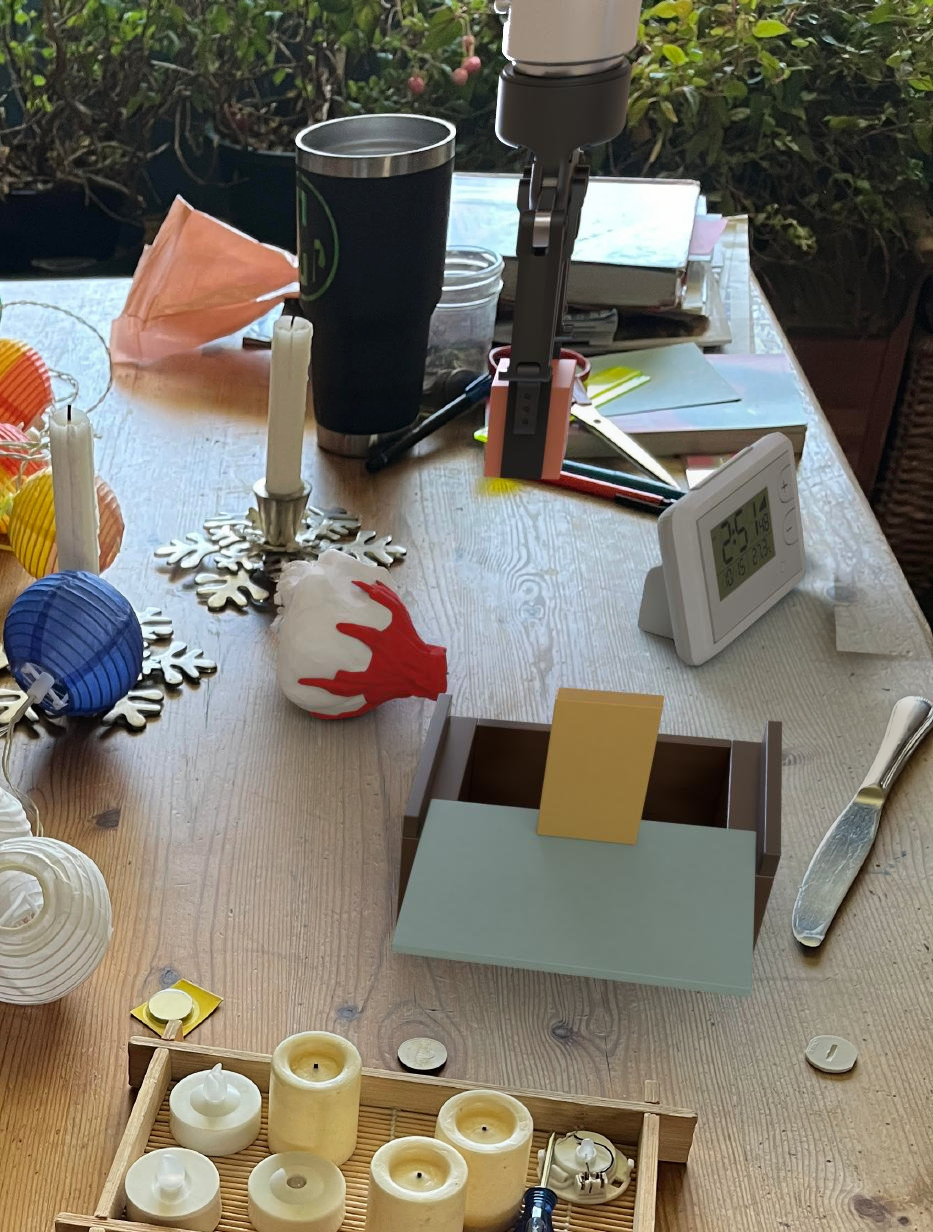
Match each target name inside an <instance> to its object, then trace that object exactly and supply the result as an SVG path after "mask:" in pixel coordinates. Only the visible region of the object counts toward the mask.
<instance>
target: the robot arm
mask: <svg viewBox="0 0 933 1232" xmlns="http://www.w3.org/2000/svg"><path fill="white" fill-rule="evenodd" d="M642 4H643V0H494V10H495V11H496V13H499V14H508V17H507V18H506V20H505V21H504V23H503V25H504V26H503V38H502V53H503V55H504V56H505V57H506V59H508V60H509V61H510V62H508V63H506V64H505V66H504V67H503V69H502V70H501V71H500V73H499V78H498V91H497V105H496V116H495V117H496V118H495V134H496V137H497V138H498V139H499V141H501V143H503V144H505V145H507V146H510V147H512V148H515V149H522V148H525V149H527V150H529V151H531V152H532V153H533V154H534V156H533V163H532V165H527V166H526V165H524V168H523V172H522V177H521V178H519V180H518V188H517V196H516V208H517V211H518V212H519V213H518V214H519V217H518V227H517V234H516V246H515V256H516V258H517V259H518V262H517V275H516V285H515V294H514V295H515V296H514V306H513V318H512V329H511V339H510V349H509V350H510V351H509V358H510V360H509V366H507V370H500V371H499V373H498V381H509V385H508V396H507V407H506V417H505V428H504V439H503V450H502V461H501V472H500V477H499V478H500V479H515V480H517V479H518V480H522V479H523V480H542V479H541V477H542V471H543V462H544V453H545V444H546V435H547V426H548V417H549V408H550V399H551V390H552V381H553V375H552V372H553V367H552V366H551V363H552V359H561V353H562V345H563V343H562V342H555V340H572V339H573V335H574V327H575V323H564V319H565V317H566V314H568V308H569V305H568V304H567V299H568V290H569V281H570V272H571V263H572V255H573V254H574V251H575V243H576V240H577V239H578V236H579V232H580V227H581V219H582V210H583V207H584V203H585V199H586V197H587V192H588V187H589V183H590V175H591V172H590V171H591V164H587V165H586V164H585V161H586V160H585V159H586V157H585V153H584V150H581V149H580V148H582V147H589V148H592V147H596V146H600V145H603V144H605V143H607V142H610V141H612V140H614V139H616V138H617V137H618V136H619V135H620V134H621V133H622V132H623V130H624V128H625V125H626V120H627V113H628V106H629V105H628V104H629V97H630V89H631V81H632V73H633V65H632V64H631V63H630V60H629V59H628V58H627V57H625V56H626V55H628V54H629V53H630V52H631V51H632V50H633V49H634V48H635V47H636V46H637V41H638V35H639V26H640V20H641V19H640V18H641V10H642Z"/></svg>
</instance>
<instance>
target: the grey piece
mask: <svg viewBox="0 0 933 1232" xmlns="http://www.w3.org/2000/svg"><path fill="white" fill-rule="evenodd" d="M664 701H665V696H664V695H662V694H650V693H649V694H648V693H640V692H639V693H638V692H637V693H636V692H625V691H611V690H600V689H589V688H577V687H576V688H575V687H563V686H558V687H557V689H556V693H555V699H554V705H553V713H552V718H551V719H552V720H551V724H552V726H551V733H550V740H549V747H548V754H547V761H546V768H545V775H544V782H543V789H542V796H541V803H540V810H537V809H527V808H517V807H507V806H497V805H487V804H477V803H468V802H458V801H448V800H438V799H431V801H430V805H429V808H428V812H427V816H426V819H425V823H424V826H423V830H422V834H421V837H420V841H419V845H418V848H417V852H416V856H415V859H414V863H413V867H412V870H411V874H410V878H409V881H408V885H407V889H406V892H405V896H404V900H403V903H402V907H401V911H400V914H399V918H398V921H397V925H396V924H395V929H394V933H393V936H392V940H391V946H390V952H391V953H395V954H402V955H411V956H419V957H425V958H426V957H427V958H435V959H442V960H450V961H457V962H466V963H474V964H481V965H489V966H496V967H506V968H513V969H520V970H528V971H537V972H545V973H552V974H559V975H560V974H561V975H568V976H574V977H575V976H576V977H583V978H590V979H591V978H592V979H599V980H607V981H615V982H622V983H631V984H638V985H646V986H654V987H662V988H669V989H676V990H677V989H678V990H686V991H693V992H700V993H709V994H715V995H716V994H717V995H723V996H725V995H726V996H733V997H741V998H747V999H748V998H750V997H751V994H752V990H753V965H754V953H753V933H754V897H755V861H756V832H755V831H745V830H735V829H725V828H715V827H705V826H695V825H685V824H676V823H666V822H656V821H646V820H641V817H642V812H643V807H644V801H645V796H646V791H647V786H648V781H649V776H650V771H651V766H652V761H653V756H654V751H655V746H656V741H657V736H658V733H659V730H660V725H661V720H662V715H663V710H664Z"/></svg>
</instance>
